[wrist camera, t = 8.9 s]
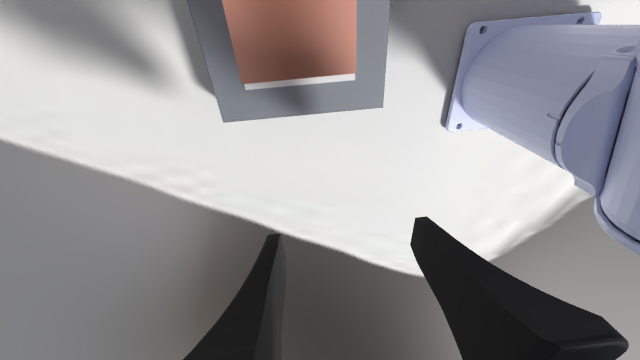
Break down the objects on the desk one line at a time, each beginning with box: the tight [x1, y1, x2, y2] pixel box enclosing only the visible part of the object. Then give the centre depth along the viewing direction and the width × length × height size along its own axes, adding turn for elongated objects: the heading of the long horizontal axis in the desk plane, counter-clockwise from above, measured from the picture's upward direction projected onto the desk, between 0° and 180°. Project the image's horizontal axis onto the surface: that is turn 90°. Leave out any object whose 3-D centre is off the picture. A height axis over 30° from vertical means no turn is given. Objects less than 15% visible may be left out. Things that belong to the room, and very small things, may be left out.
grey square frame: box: [187, 0, 390, 123], centre depth 15 cm, size 11×11×3 cm
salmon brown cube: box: [222, 0, 357, 84], centre depth 11 cm, size 5×5×5 cm
